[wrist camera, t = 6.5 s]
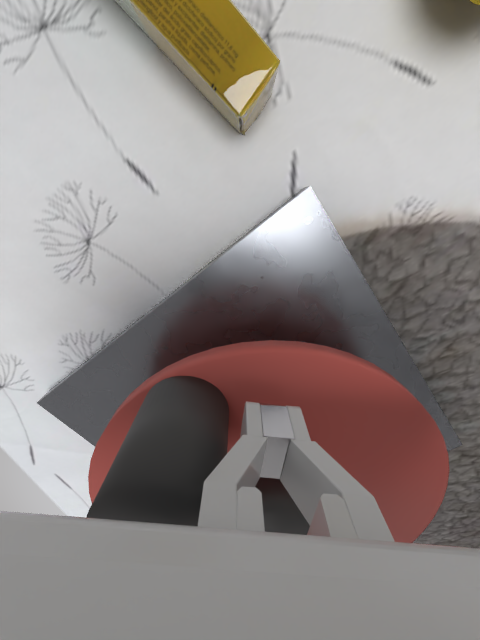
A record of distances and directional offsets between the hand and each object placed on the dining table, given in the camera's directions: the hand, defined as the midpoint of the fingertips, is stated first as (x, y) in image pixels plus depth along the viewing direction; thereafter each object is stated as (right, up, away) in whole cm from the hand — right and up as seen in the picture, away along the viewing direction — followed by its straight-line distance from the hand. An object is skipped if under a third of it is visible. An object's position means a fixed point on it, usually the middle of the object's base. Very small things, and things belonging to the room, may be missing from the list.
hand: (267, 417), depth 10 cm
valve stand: (0, -4, +12) cm, 13 cm away
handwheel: (+1, -7, +6) cm, 9 cm away
